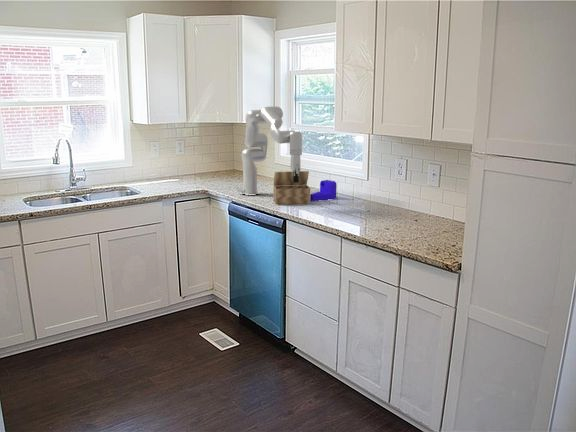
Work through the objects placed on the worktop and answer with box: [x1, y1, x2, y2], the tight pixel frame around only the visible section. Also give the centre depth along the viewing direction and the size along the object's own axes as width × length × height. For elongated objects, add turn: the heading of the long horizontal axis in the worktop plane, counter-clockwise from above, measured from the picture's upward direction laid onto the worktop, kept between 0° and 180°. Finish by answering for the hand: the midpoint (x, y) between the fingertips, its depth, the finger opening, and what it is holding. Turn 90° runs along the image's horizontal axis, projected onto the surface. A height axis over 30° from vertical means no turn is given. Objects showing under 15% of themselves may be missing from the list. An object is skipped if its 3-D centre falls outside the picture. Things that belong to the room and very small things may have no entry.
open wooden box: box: [272, 184, 311, 205], centre depth 339 cm, size 22×12×10 cm, turn 99°
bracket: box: [310, 179, 337, 202], centre depth 349 cm, size 18×11×12 cm, turn 131°
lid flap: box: [272, 170, 310, 186], centre depth 339 cm, size 22×12×1 cm
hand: (295, 182), depth 322 cm, fingers closed
